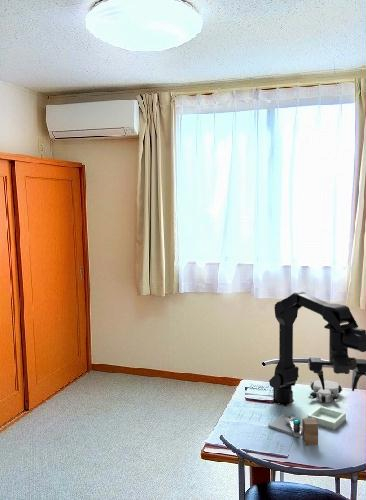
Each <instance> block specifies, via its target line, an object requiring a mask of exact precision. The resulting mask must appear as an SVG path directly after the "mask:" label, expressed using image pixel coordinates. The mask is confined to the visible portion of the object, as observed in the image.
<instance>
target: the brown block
mask: <svg viewBox="0 0 366 500" xmlns="http://www.w3.org/2000/svg"><path fill="white" fill-rule="evenodd" d="M301 419H302V434H301V437H302V442H303V443H304V446H319V425H318V423H317V421H316V419H315V418H308V417H304V418H303V417H302V418H301Z"/></svg>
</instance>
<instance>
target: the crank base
mask: <svg viewBox="0 0 366 500" xmlns="http://www.w3.org/2000/svg"><path fill="white" fill-rule="evenodd" d="M287 416H291V415H290V414H287V413H283V414H282V415H281V416H279V417H278V418H276V419H275V420H273V421H272V422H270V423H269V424H268V425H267V428H270V429H272V430H276V431H278V432H281V433H285V434H288V435H290V436H293V437H294V434H293V432H292V430H291V428H290V426H289V425H287V424H286V423H285V417H287ZM294 417H295V418H296V419H300V420H301V423H300V432H301V435H302V418H299V417H296V416H294Z"/></svg>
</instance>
